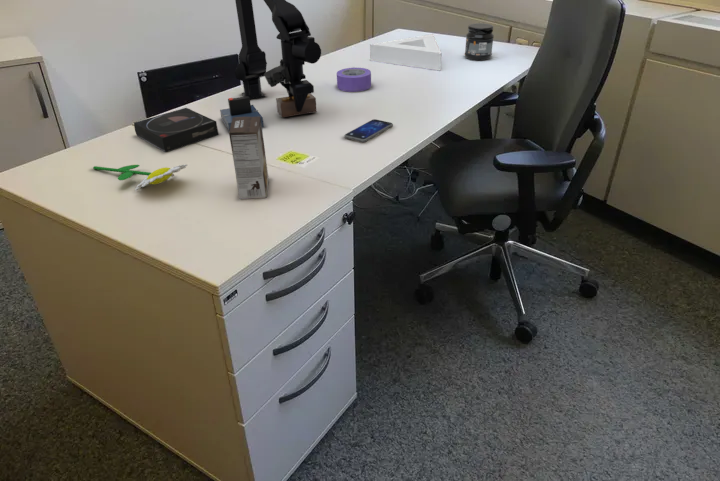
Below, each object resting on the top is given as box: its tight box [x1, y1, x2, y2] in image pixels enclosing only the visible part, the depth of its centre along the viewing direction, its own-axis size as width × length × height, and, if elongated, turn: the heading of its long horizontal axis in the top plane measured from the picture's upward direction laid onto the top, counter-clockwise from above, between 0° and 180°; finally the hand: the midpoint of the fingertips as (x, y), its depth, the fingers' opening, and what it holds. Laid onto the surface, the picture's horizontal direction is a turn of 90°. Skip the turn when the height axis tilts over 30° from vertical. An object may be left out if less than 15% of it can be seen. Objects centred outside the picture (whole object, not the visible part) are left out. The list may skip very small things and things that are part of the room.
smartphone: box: [344, 118, 394, 143], centre depth 155 cm, size 7×1×15 cm
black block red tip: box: [227, 96, 252, 116], centre depth 160 cm, size 6×2×5 cm, turn 114°
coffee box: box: [228, 116, 270, 200], centre depth 123 cm, size 9×6×16 cm
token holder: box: [275, 93, 317, 118], centre depth 167 cm, size 11×5×5 cm, turn 113°
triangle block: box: [369, 33, 442, 72], centre depth 215 cm, size 30×26×6 cm
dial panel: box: [219, 104, 265, 132], centre depth 163 cm, size 12×10×3 cm
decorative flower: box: [93, 164, 188, 192], centre depth 132 cm, size 13×5×30 cm
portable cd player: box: [133, 107, 219, 153], centre depth 156 cm, size 16×17×4 cm
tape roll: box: [336, 67, 372, 93], centre depth 189 cm, size 12×12×5 cm
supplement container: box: [464, 22, 495, 62], centre depth 215 cm, size 10×10×12 cm
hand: (296, 108), depth 168 cm, fingers closed on token holder, 5 cm apart
